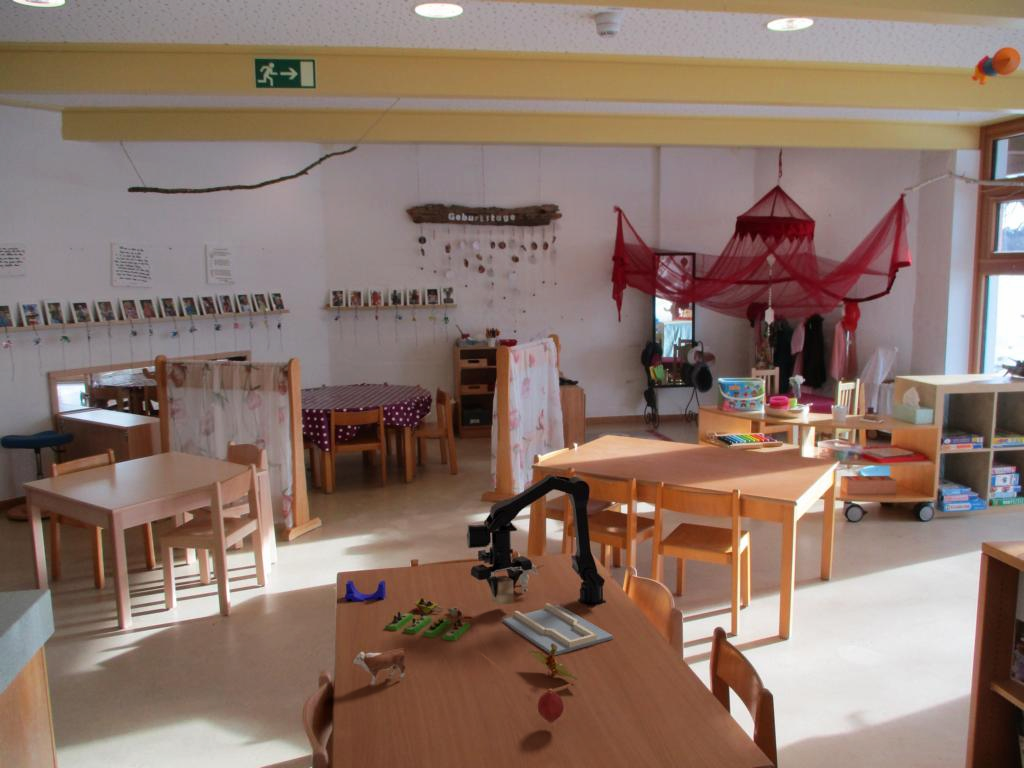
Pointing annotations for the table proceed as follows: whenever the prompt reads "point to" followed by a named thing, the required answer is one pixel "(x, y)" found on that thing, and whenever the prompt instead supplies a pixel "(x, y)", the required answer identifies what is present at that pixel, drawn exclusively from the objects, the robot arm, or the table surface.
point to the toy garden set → (422, 621)
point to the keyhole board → (557, 629)
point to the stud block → (503, 591)
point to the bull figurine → (382, 662)
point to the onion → (550, 706)
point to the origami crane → (552, 662)
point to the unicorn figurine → (527, 577)
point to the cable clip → (357, 596)
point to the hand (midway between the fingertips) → (502, 594)
